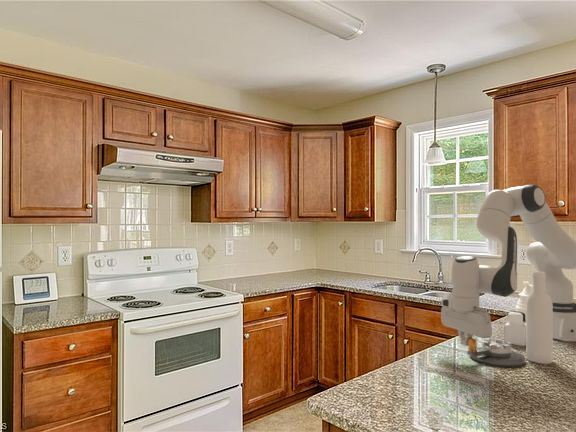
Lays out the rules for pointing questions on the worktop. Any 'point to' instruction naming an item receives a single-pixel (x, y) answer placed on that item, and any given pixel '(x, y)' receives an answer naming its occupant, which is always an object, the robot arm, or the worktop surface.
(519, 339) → the medicine bottle
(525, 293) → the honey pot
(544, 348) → the bottle
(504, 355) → the crank handle dial
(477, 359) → the flange
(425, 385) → the worktop surface
